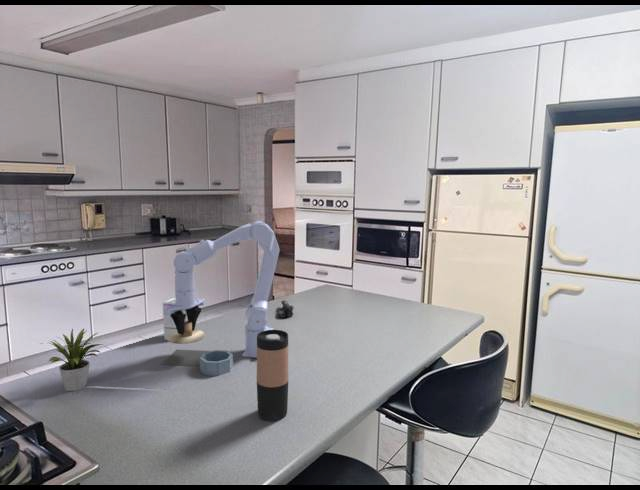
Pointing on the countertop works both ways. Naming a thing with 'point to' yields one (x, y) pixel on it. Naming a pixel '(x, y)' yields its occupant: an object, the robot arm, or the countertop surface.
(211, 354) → the bowl
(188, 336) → the lid
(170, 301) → the syrup box
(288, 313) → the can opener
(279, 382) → the travel mug
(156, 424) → the countertop surface
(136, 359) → the countertop surface
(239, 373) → the countertop surface
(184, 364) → the mat
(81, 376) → the house plant
